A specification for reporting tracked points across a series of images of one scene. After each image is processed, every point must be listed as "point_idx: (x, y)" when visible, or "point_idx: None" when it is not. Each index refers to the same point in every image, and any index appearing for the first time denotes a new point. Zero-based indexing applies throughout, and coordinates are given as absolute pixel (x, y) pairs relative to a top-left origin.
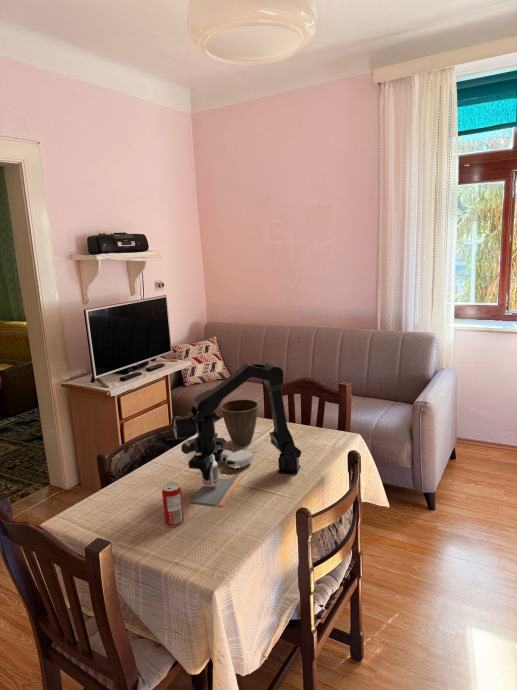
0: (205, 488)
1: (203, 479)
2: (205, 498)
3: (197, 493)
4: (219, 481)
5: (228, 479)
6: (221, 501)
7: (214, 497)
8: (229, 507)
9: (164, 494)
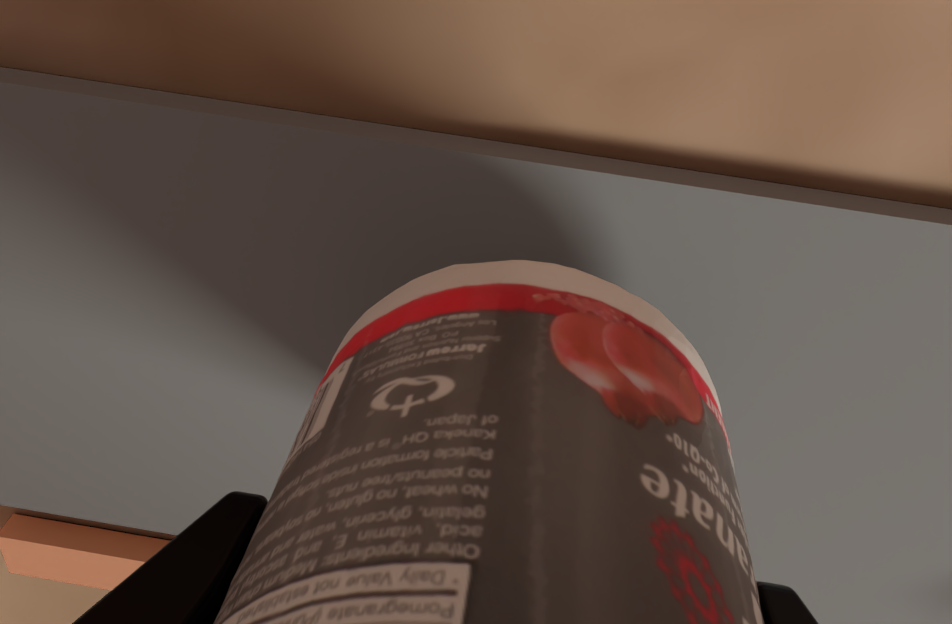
0: (446, 257)
1: (320, 418)
2: (75, 332)
3: (196, 131)
4: (769, 459)
5: (831, 580)
6: (87, 555)
7: (164, 458)
8: (52, 610)
9: None
